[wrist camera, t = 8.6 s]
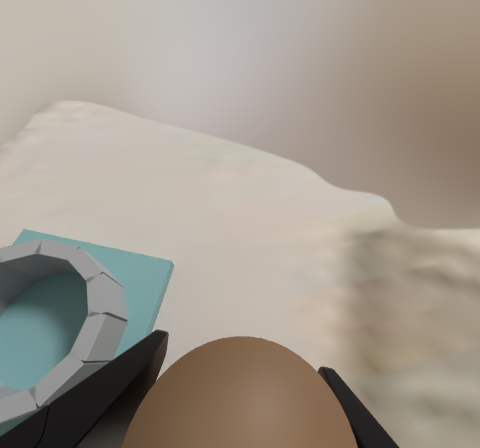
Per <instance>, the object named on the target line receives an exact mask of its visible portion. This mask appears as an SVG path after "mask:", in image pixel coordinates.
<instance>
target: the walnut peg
mask: <svg viewBox="0 0 480 448" xmlns="http://www.w3.org/2000/svg"><path fill="white" fill-rule="evenodd" d="M121 448H358V447H357V443H356V440H355V437H354V434H353V431H352V429H351V426H350V423H349V421H348V419H347V417H346V414H345V412H344V410H343V408H342V406H341V404H340V403H339V401H338V399H337V398H336V396H335V394H334V393H333V391H332V390H331V388H330V387H329V386H328V384H327V383H326V382H325V380H324V379H323V378H322V377H321V375H320V374H319V373H318V372H317V371H316V370H315V369H314V368H313V367H312V366H311V365H310V364H309V363H307V362H306V361H305V360H304V359H302V358H301V357H300V356H299V355H297V354H296V353H294V352H292V351H291V350H289V349H288V348H286V347H284V346H281V345H279V344H277V343H275V342H272V341H268V340H265V339H262V338H255V337H229V338H222V339H218V340H215V341H212V342H208V343H206V344H204V345H202V346H199V347H197V348H195V349H194V350H192V351H190V352H189V353H187V354H185V355H184V356H182V357H181V358H180V359H179V360H177V361H176V362H175V363H174V364H173V365H171V366H170V367H169V368H168V369H167V370H166V371H165V372H164V373H163V374H162V375H161V376H160V377H159V379H158V380H157V381H156V382H155V384H154V385H153V386H152V387H151V389H150V390H149V391H148V393H147V394H146V396H145V398H144V399H143V401H142V402H141V404H140V406H139V407H138V409H137V411H136V413H135V415H134V417H133V419H132V421H131V423H130V425H129V428H128V430H127V433H126V436H125V438H124V441H123V444H122V447H121Z"/></svg>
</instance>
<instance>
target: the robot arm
mask: <svg viewBox="0 0 480 448" xmlns="http://www.w3.org/2000/svg"><path fill="white" fill-rule="evenodd" d="M168 336H169V334H168V332H167V331H162V330H155V331H154V332H152V333H151V334H149V335H148V336H146V337H145V338H143V339H142V340H141V341H139V342H138V343H136V344H135V345H133V346H132V347H130V348H129V349H127V350H126V351H125V352H123V353H122V354H120V355H119V356H117V357H116V358H114V359H113V360H111V361H110V362H109V363H107V364H106V365H104V366H103V367H101V368H100V369H98V370H97V371H95V372H94V373H93V374H91V375H90V376H88V377H87V378H85V379H84V380H82V381H81V382H79V383H78V384H77V385H75V386H74V387H72V388H71V389H69V390H68V391H66V392H65V393H63V394H62V395H61V396H59V397H58V398H56V399H55V400H53V401H52V402H51V403H50V405H46V406H44V407H43V408H41V409H40V410H39V411H37V412H36V413H34V414H33V415H31V416H30V417H28V418H27V419H25V420H24V421H22V422H21V423H19V424H18V425H16V426H15V427H13V428H12V429H10V430H9V431H7V432H6V433H4V434H3V435H1V436H0V448H121V447H122V444H123V441H124V438H125V436H126V433H127V430H128V428H129V425H130V423H131V421H132V419H133V417H134V415H135V413H136V411H137V409H138V407H139V406H140V404H141V402H142V401H143V399H144V398H145V396H146V394H147V393H148V391H149V390H150V389H151V387H152V386H153V385H154V384H155V382H156V379H157V377H158V374H159V372H160V369H161V366H162V364H163V361H164V358H165V355H166V351H167V343H168ZM318 373H319V374H320V375H321V377H322V378H323V379H324V380H325V382H326V383H327V384H328V386H329V387H330V388H331V390H332V391H333V393H334V394H335V396H336V398H337V399H338V401H339V403H340V404H341V406H342V408H343V410H344V412H345V414H346V417H347V419H348V421H349V423H350V426H351V429H352V431H353V434H354V437H355V440H356V443H357V447H358V448H399V446H398V445H397V444H396V443H395V442H394V441H393V439H392V438H391V437H390V436H389V435H388V433H387V432H386V431H385V430H384V429H383V427H382V426H381V425H380V424H379V423H378V421H377V420H376V419H375V418H374V417H373V416H372V414H371V413H370V412H369V411H368V410H367V408H366V407H365V406H364V405H363V404H362V402H361V401H360V400H359V399H358V398H357V396H356V395H355V394H354V393H353V392H352V391H351V389H350V388H349V387H348V386H347V385H346V383H345V382H344V381H343V380H342V379H341V377H340V376H339V375H338V374H337V373H336V371H335V370H333V369H332V368H328V367H323V366H322V367H320V368H319V370H318Z"/></svg>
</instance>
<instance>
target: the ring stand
mask: <svg viewBox="0 0 480 448" xmlns="http://www.w3.org/2000/svg"><path fill="white" fill-rule="evenodd" d="M173 267H174V265H173V263H172V261H170V260H165V259H160V258H156V257H151V256H146V255H142V254H137V253H132V252H128V251H123V250H118V249H114V248H109V247H104V246H100V245H95V244H91V243H86V242H81V241H77V240H72V239H67V238H63V237H58V236H53V235H49V234H44V233H39V232H35V231H30V230H25V229H24V230H23V231H22V232H21V234H20V235H19V237H18V238H17V239H16V241H15V242H14V244H13V245H12V246H8V247H4V248H0V436H1V435H3V434H4V433H6V432H7V431H9V430H10V429H12V428H13V427H15V426H16V425H18V424H19V423H21V422H22V421H24V420H25V419H27V418H28V417H30V416H31V415H33V414H34V413H36V412H37V411H39V410H40V409H41V408H43V407H44V406H46V405H50V403H51V402H52V401H53V400H55V399H56V398H58V397H59V396H61V395H62V394H63V393H65V392H66V391H68V390H69V389H71V388H72V387H74V386H75V385H77V384H78V383H79V382H81V381H82V380H84V379H85V378H87V377H88V376H90V375H91V374H93V373H94V372H95V371H97V370H98V369H100V368H101V367H103V366H104V365H106V364H107V363H109V362H110V361H111V360H113V359H114V358H116V357H117V356H119V355H120V354H122V353H123V352H125V351H126V350H127V349H129V348H130V347H132V346H133V345H135V344H136V343H138V342H139V341H141V340H142V339H143V338H145V337H146V336H148V335H149V334H151V332H152V329H153V326H154V323H155V320H156V317H157V314H158V311H159V308H160V305H161V302H162V299H163V297H164V294H165V291H166V288H167V285H168V282H169V279H170V276H171V273H172V270H173Z"/></svg>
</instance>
